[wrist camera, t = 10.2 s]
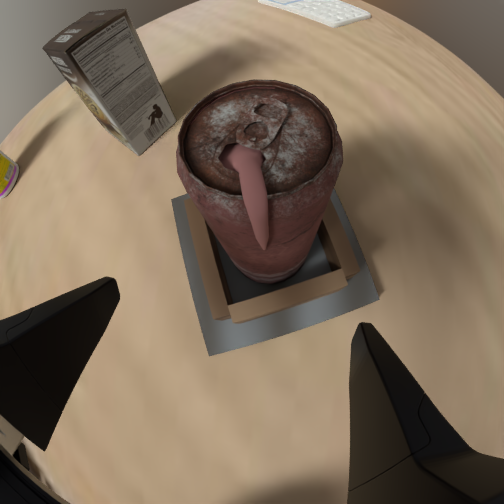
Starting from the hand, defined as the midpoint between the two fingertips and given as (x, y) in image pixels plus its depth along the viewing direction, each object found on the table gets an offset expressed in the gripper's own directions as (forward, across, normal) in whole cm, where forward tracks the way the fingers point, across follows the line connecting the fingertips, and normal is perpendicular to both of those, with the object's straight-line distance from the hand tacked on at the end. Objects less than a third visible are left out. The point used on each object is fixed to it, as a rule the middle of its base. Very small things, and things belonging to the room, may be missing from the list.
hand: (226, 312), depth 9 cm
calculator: (+50, -2, -32) cm, 59 cm away
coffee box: (+23, +18, -5) cm, 29 cm away
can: (+12, 0, +4) cm, 13 cm away
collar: (+13, 0, +5) cm, 14 cm away
